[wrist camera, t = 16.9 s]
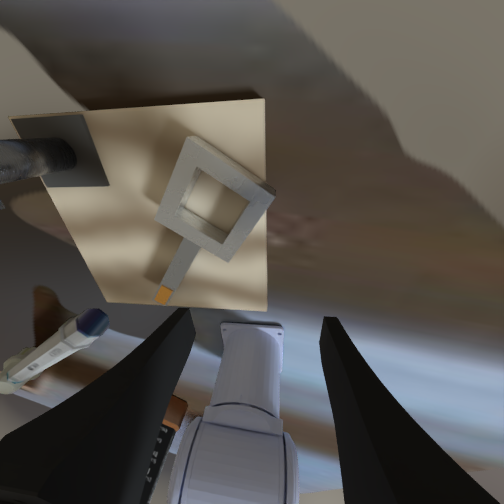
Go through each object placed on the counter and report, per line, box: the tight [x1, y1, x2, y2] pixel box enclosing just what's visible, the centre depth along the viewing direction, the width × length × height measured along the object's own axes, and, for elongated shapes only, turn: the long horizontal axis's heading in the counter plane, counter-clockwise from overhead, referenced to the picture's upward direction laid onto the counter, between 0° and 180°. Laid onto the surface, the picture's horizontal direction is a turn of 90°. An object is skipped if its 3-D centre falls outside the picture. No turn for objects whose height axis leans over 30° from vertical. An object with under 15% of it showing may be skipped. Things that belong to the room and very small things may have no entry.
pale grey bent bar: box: [0, 308, 110, 394], centre depth 32 cm, size 5×7×25 cm
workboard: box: [8, 99, 267, 311], centre depth 20 cm, size 20×20×1 cm
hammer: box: [0, 137, 77, 210], centre depth 14 cm, size 5×2×7 cm, turn 3°
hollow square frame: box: [152, 136, 276, 307], centre depth 19 cm, size 7×16×2 cm, turn 148°
